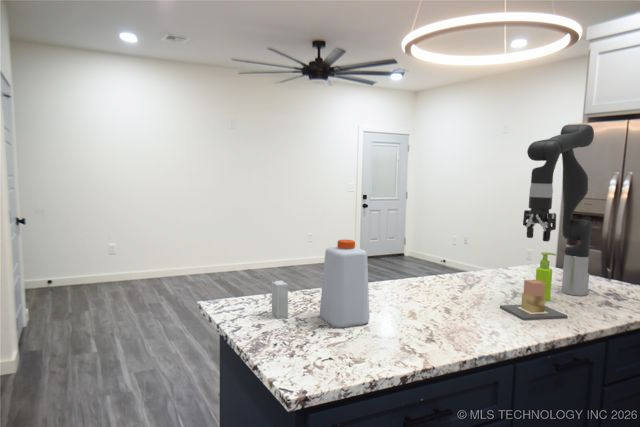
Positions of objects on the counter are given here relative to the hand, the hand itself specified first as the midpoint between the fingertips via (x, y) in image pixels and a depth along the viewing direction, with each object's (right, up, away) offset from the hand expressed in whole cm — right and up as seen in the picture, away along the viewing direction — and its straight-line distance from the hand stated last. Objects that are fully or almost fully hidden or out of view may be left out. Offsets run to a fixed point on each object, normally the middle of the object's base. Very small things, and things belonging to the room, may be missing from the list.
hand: (537, 239), depth 153 cm
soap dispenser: (+13, -27, +21) cm, 36 cm away
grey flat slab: (-1, -28, +3) cm, 28 cm away
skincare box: (-96, -27, -7) cm, 100 cm away
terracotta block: (0, -21, +2) cm, 21 cm away
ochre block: (-1, -27, +3) cm, 27 cm away
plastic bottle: (-73, -28, -9) cm, 78 cm away
